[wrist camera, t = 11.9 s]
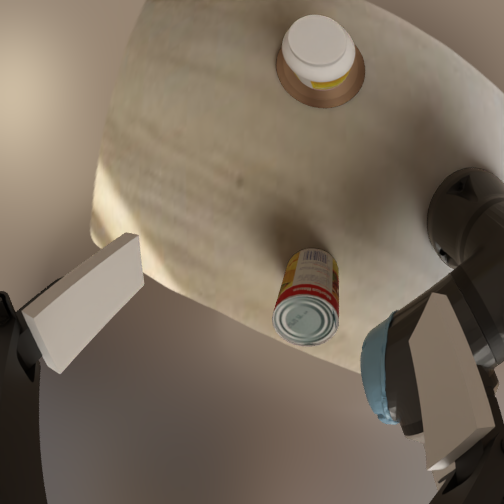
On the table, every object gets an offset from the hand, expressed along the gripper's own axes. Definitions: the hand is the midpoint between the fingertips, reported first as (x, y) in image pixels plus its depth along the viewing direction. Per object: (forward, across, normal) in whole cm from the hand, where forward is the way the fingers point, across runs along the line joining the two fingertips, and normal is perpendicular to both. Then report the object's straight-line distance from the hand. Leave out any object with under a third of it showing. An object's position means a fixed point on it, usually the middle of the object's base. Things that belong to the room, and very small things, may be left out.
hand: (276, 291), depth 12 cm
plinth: (+28, -1, +14) cm, 32 cm away
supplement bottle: (+27, -1, +14) cm, 30 cm away
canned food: (+29, +2, -15) cm, 33 cm away
